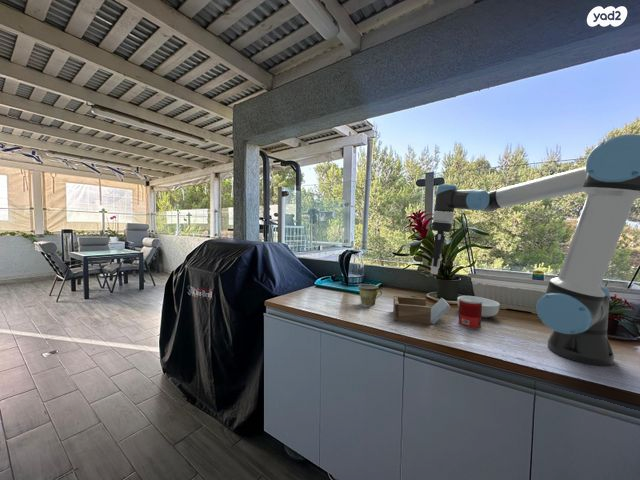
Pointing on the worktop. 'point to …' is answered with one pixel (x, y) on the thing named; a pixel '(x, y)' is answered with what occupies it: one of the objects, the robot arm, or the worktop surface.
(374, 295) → the ceramic cup
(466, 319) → the canned food
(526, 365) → the worktop surface
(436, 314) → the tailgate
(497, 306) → the cereal bowl
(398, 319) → the crate
